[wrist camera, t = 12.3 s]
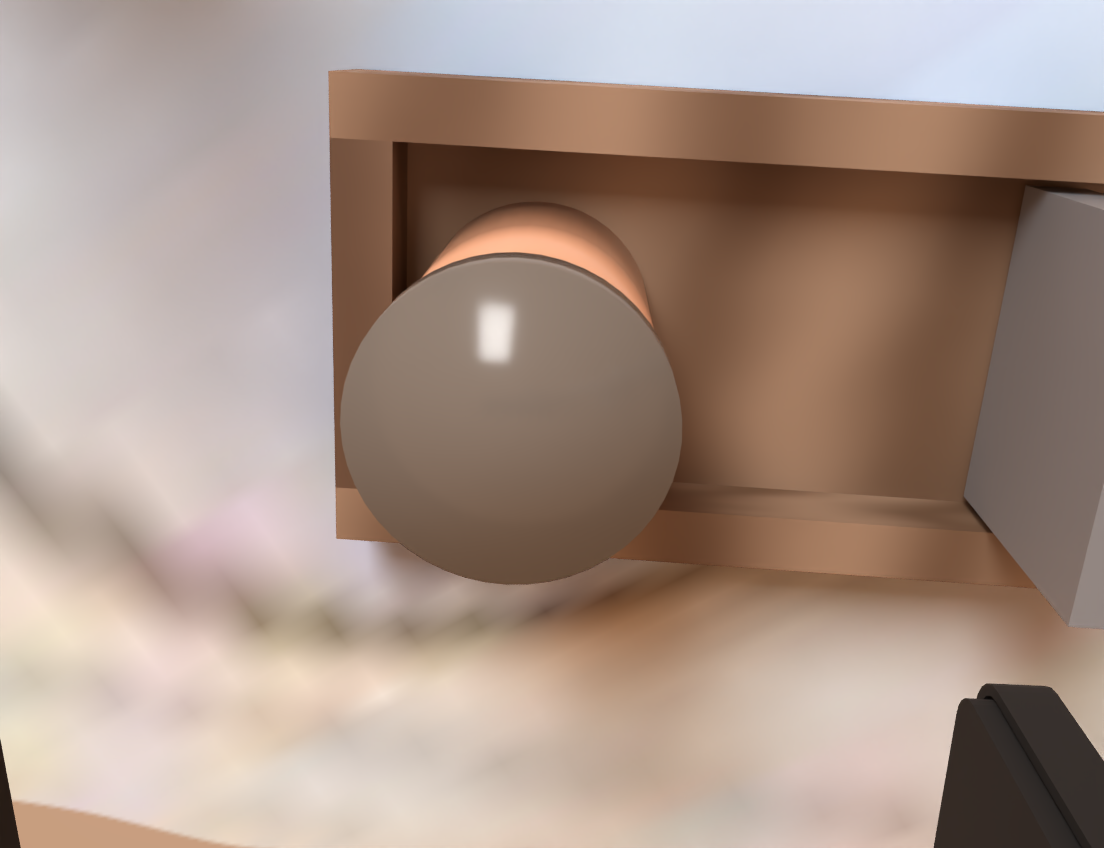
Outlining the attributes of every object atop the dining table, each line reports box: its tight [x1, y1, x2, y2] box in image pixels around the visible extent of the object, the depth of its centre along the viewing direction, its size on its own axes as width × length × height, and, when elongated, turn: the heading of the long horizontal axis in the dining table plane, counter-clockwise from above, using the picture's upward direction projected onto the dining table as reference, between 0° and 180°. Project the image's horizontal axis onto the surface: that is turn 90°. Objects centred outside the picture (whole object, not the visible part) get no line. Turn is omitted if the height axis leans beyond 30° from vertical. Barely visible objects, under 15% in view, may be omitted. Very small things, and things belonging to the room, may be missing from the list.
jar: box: [340, 201, 682, 584], centre depth 24 cm, size 6×6×9 cm
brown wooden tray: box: [329, 69, 1104, 588], centre depth 28 cm, size 20×12×3 cm, turn 87°
